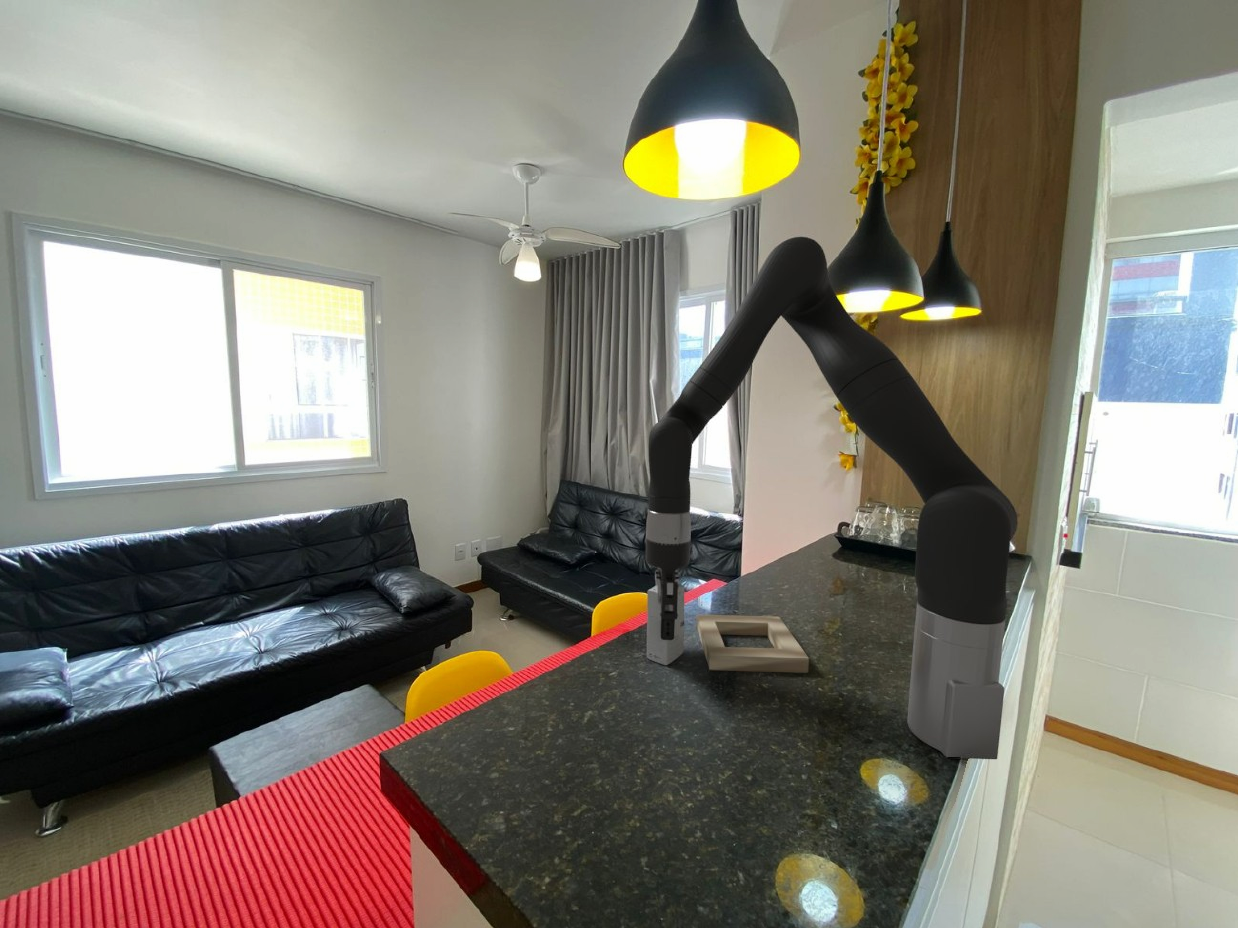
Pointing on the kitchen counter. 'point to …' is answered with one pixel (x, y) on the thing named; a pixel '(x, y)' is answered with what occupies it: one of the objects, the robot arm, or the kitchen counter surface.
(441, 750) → the kitchen counter surface
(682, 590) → the skincare box
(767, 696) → the kitchen counter surface
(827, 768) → the kitchen counter surface
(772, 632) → the socket block
